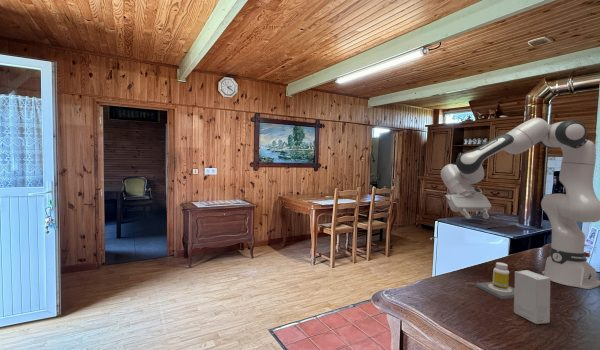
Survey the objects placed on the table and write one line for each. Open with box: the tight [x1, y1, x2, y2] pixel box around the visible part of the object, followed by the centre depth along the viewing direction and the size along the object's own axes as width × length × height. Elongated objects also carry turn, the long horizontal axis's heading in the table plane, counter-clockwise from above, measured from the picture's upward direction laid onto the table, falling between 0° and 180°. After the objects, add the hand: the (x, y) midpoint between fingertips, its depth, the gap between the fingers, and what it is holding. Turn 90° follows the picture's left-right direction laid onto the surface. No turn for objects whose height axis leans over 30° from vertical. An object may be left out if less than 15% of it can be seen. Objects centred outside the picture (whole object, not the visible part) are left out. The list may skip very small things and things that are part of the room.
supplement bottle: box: [491, 262, 510, 290], centre depth 122 cm, size 5×5×10 cm
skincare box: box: [513, 269, 551, 325], centre depth 101 cm, size 8×6×15 cm
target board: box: [475, 281, 515, 300], centre depth 122 cm, size 12×12×1 cm
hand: (478, 218), depth 133 cm, fingers open, 8 cm apart
